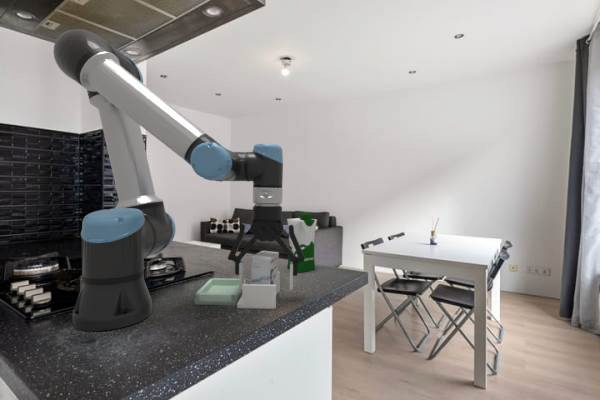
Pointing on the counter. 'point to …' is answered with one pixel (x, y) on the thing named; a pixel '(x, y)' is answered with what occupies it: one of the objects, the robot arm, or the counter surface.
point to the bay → (259, 295)
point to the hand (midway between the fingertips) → (266, 287)
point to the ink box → (265, 268)
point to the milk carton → (304, 240)
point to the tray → (219, 292)
